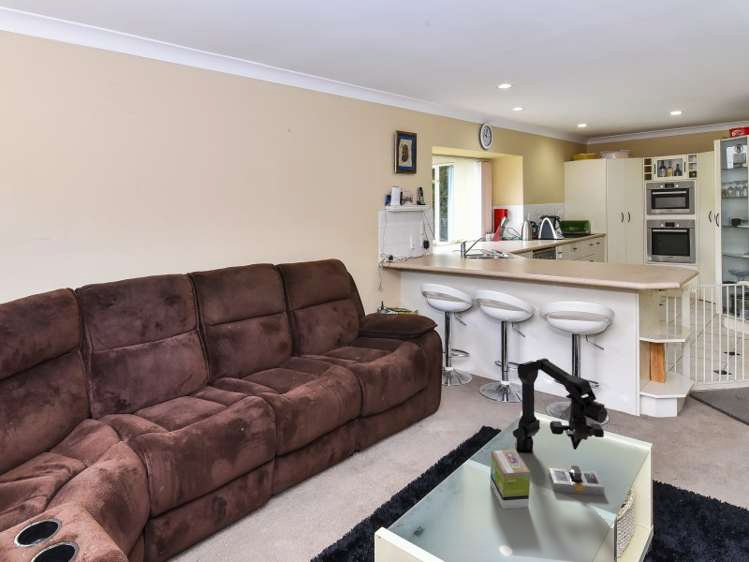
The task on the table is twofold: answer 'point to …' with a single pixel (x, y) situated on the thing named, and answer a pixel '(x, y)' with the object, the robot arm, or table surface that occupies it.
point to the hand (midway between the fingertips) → (574, 449)
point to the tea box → (510, 479)
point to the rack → (588, 484)
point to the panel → (575, 474)
